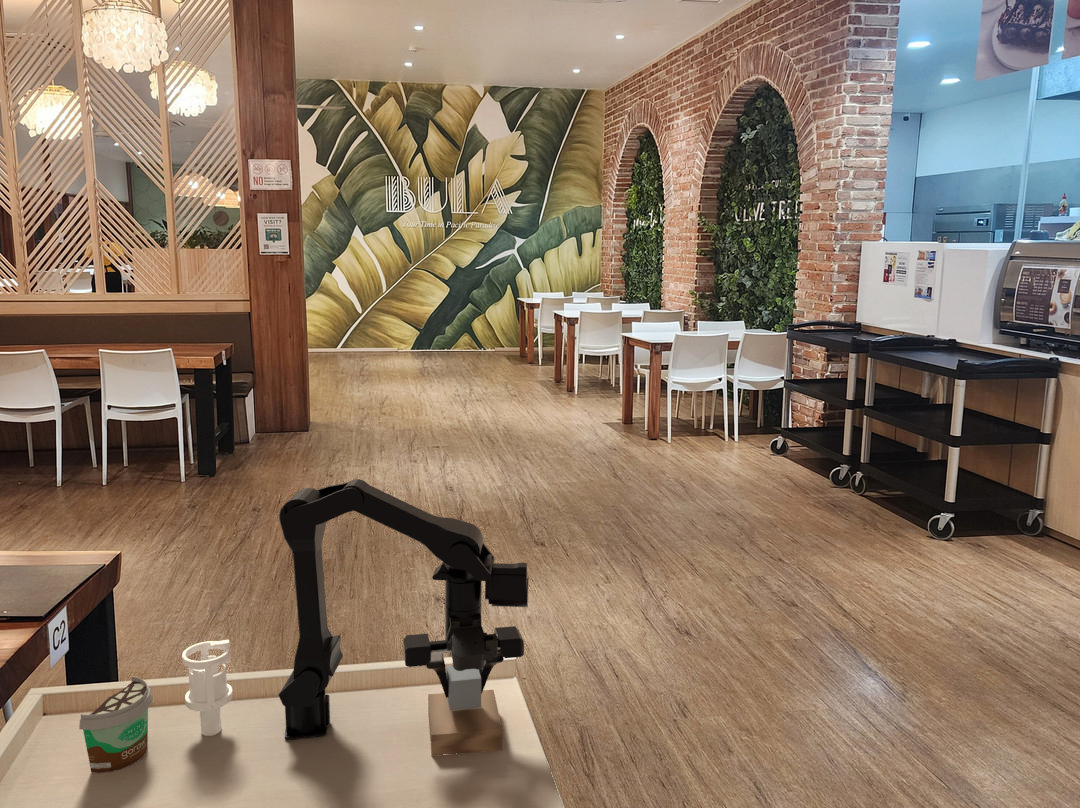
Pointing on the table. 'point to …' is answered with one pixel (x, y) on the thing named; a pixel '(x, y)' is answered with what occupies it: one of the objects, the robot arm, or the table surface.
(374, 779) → the table surface
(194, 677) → the strainer
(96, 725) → the food container
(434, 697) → the block
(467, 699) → the slate cube
